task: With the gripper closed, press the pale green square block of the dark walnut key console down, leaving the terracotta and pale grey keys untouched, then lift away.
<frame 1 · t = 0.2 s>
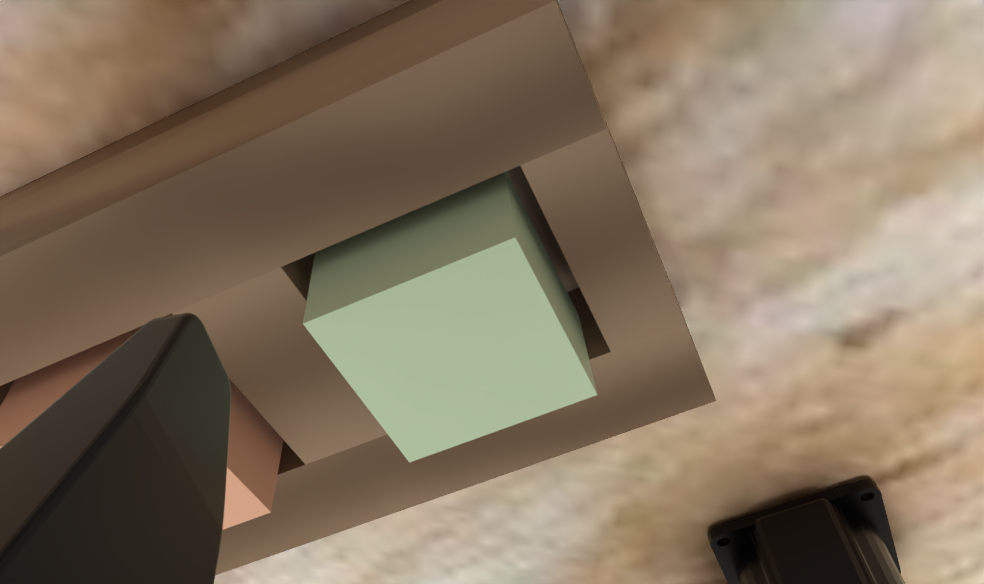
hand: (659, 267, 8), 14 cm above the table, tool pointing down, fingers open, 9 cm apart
pale green square block: (455, 319, 21), point 4 cm above the table, slide at 0.0 cm
key console: (180, 335, 26), on the table
terracotta key: (143, 441, 23), point 4 cm above the table, slide at 0.0 cm
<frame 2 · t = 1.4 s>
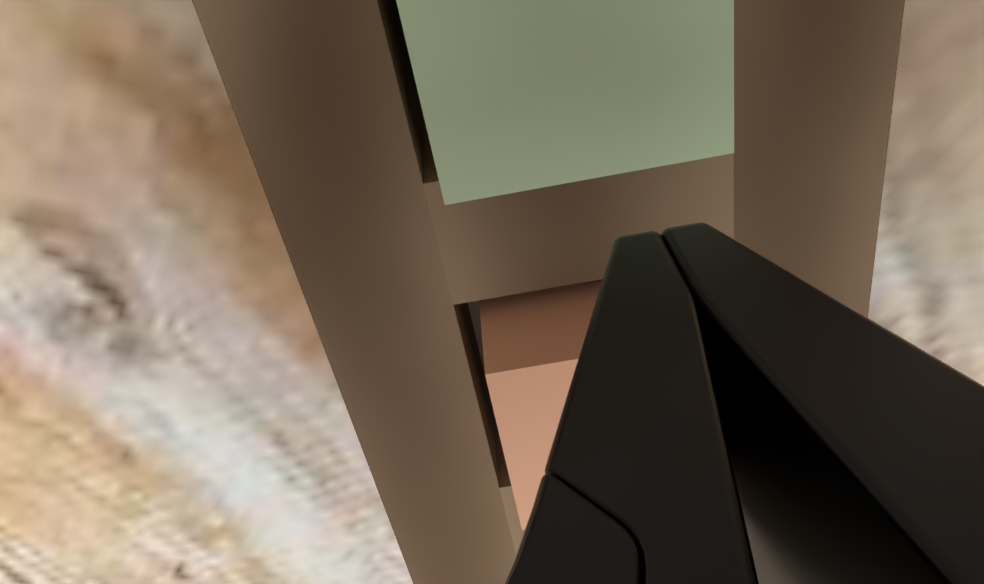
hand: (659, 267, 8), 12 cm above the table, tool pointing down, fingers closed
pale green square block: (559, 6, 14), point 4 cm above the table, slide at 0.0 cm
key console: (580, 282, 23), on the table
terracotta key: (607, 392, 20), point 4 cm above the table, slide at 0.0 cm
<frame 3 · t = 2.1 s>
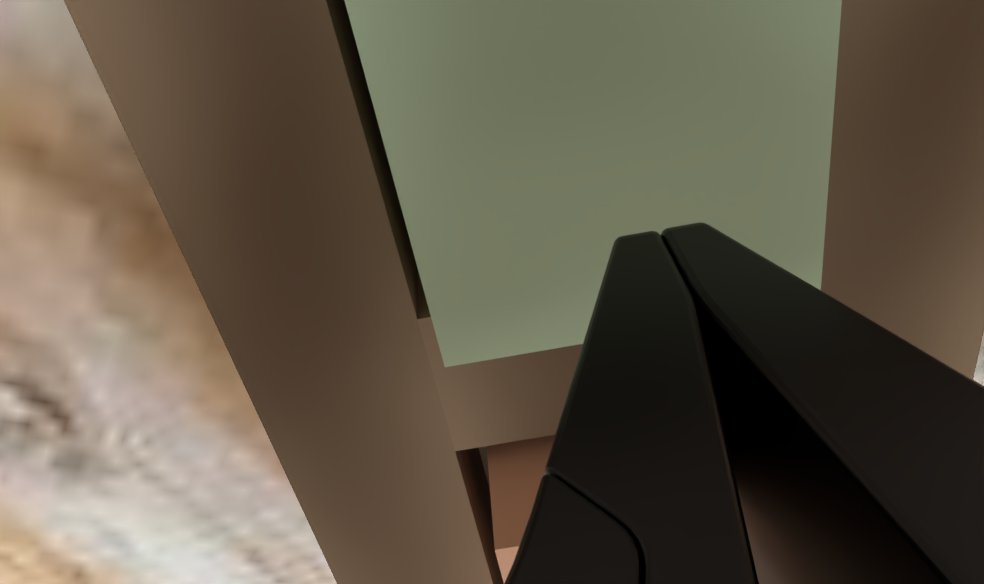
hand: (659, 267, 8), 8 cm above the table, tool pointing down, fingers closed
pale green square block: (593, 115, 11), point 4 cm above the table, slide at 0.0 cm
key console: (602, 389, 20), on the table
terracotta key: (640, 543, 16), point 4 cm above the table, slide at 0.0 cm
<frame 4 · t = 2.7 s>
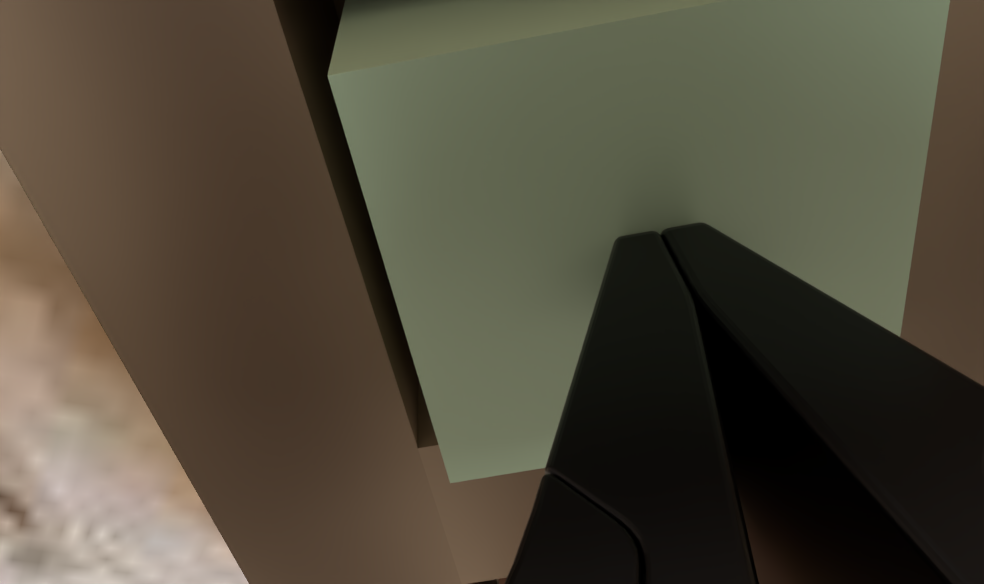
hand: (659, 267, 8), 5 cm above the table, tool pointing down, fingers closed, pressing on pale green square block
pale green square block: (625, 193, 10), point 4 cm above the table, slide at 0.7 cm, touching gripper
key console: (626, 479, 18), on the table
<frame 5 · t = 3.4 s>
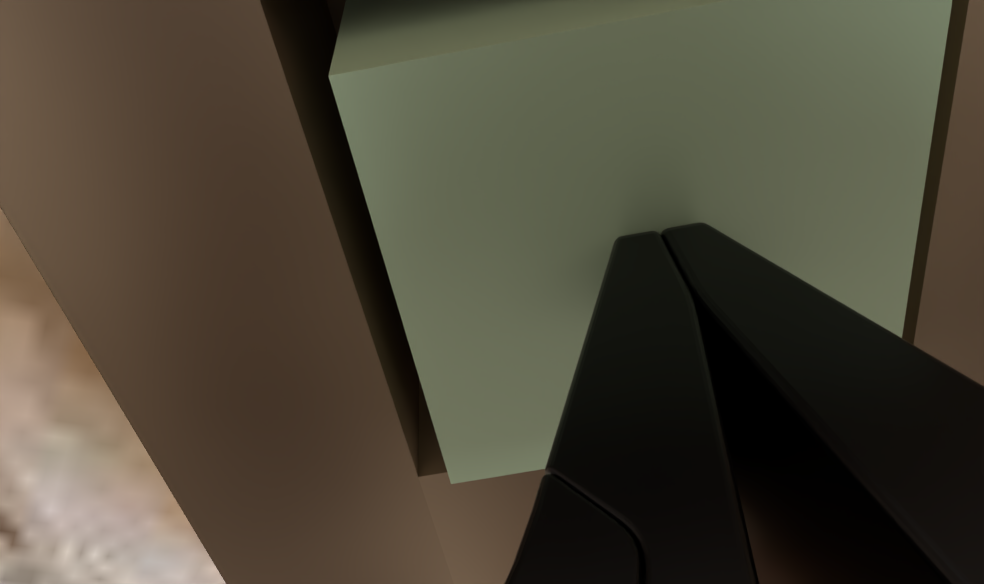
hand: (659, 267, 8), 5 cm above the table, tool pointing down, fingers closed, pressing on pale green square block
pale green square block: (626, 193, 9), point 3 cm above the table, slide at 1.2 cm, touching gripper
key console: (631, 497, 17), on the table
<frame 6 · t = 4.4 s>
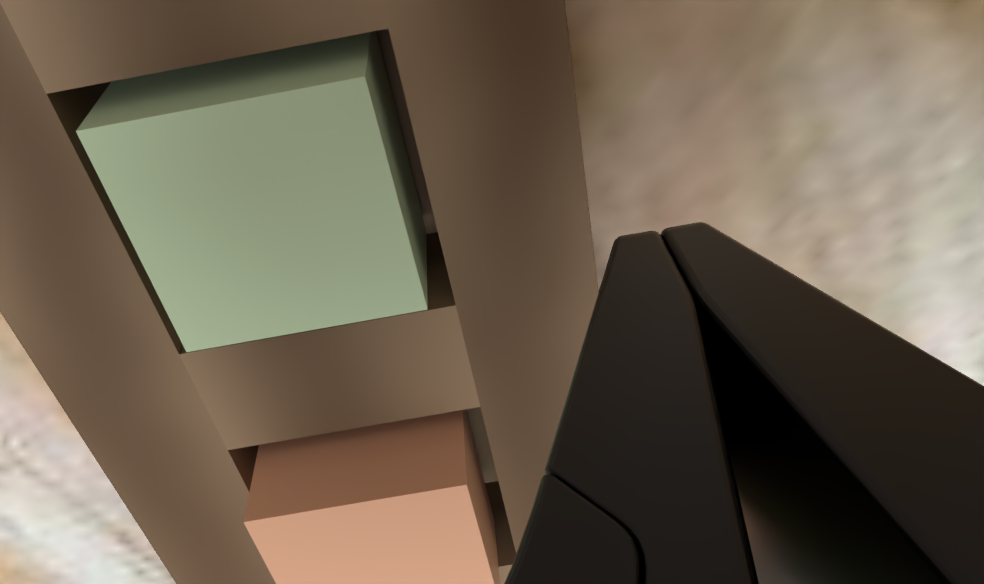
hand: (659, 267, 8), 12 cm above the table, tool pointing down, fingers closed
pale green square block: (277, 188, 17), point 3 cm above the table, slide at 1.2 cm
key console: (388, 401, 25), on the table
terracotta key: (383, 520, 22), point 4 cm above the table, slide at 0.0 cm
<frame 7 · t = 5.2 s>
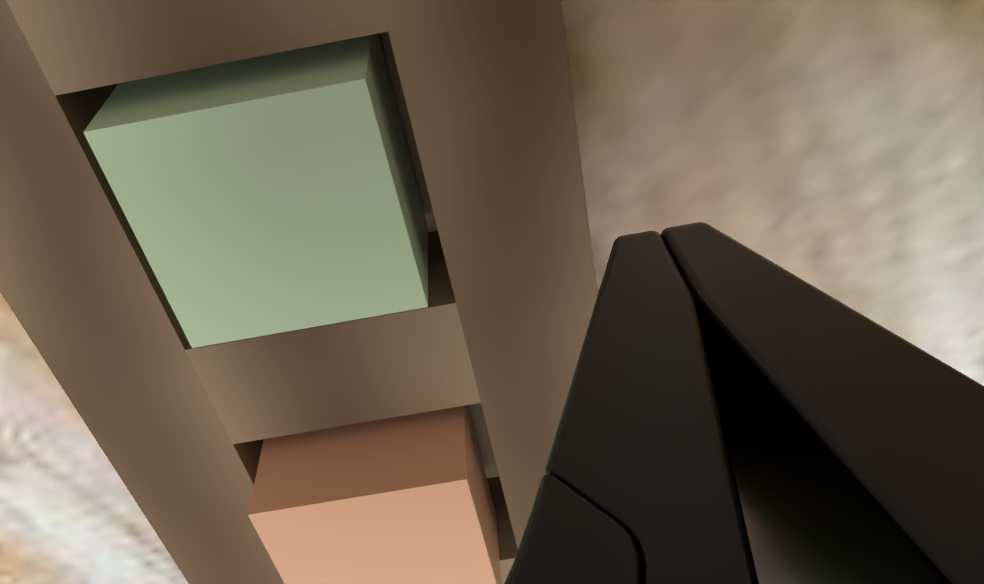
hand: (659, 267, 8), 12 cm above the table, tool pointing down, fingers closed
pale green square block: (280, 187, 17), point 3 cm above the table, slide at 1.2 cm
key console: (392, 397, 25), on the table
terracotta key: (386, 514, 22), point 4 cm above the table, slide at 0.0 cm
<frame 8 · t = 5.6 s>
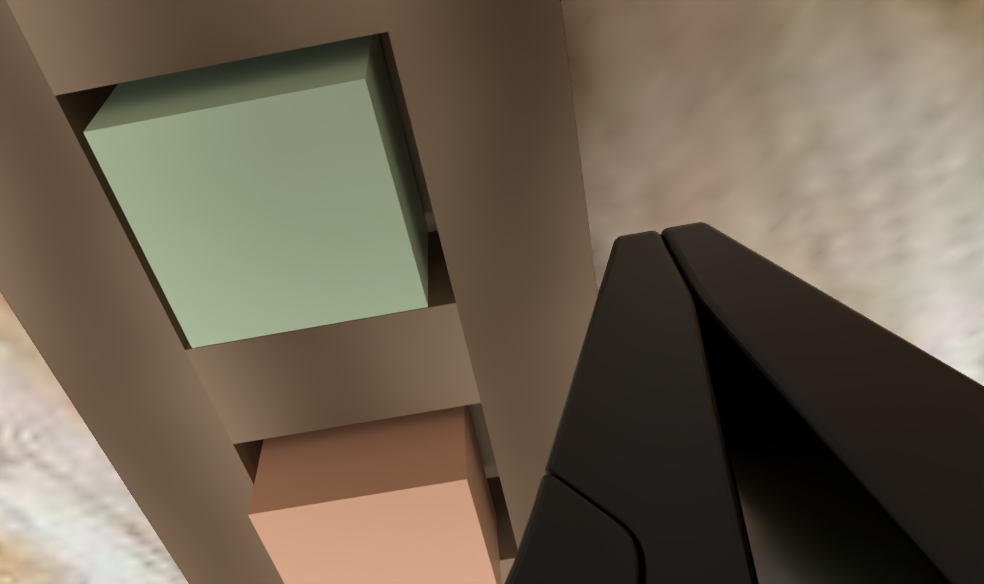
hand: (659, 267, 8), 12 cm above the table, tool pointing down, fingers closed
pale green square block: (280, 187, 17), point 3 cm above the table, slide at 1.2 cm
key console: (392, 397, 25), on the table
terracotta key: (386, 514, 22), point 4 cm above the table, slide at 0.0 cm
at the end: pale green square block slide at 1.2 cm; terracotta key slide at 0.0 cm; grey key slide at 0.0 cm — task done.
